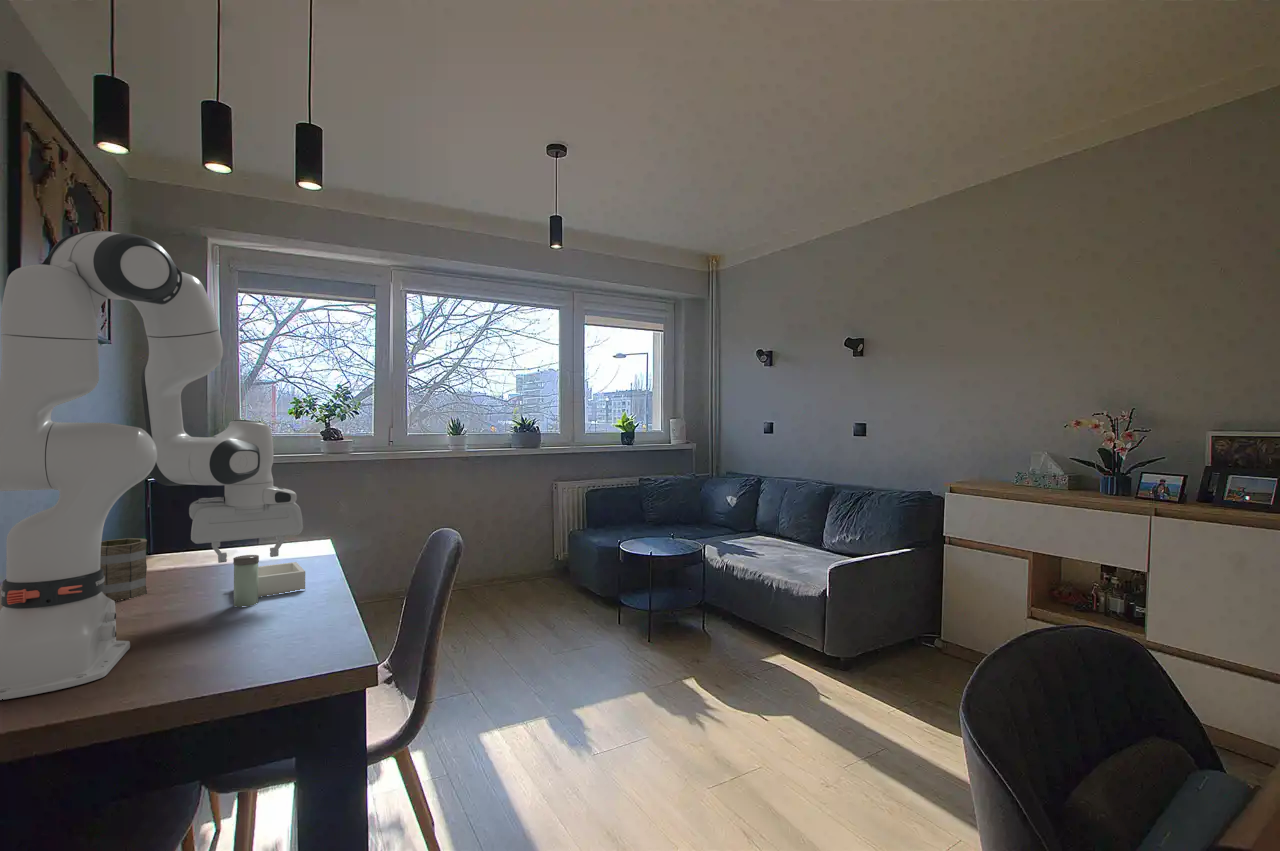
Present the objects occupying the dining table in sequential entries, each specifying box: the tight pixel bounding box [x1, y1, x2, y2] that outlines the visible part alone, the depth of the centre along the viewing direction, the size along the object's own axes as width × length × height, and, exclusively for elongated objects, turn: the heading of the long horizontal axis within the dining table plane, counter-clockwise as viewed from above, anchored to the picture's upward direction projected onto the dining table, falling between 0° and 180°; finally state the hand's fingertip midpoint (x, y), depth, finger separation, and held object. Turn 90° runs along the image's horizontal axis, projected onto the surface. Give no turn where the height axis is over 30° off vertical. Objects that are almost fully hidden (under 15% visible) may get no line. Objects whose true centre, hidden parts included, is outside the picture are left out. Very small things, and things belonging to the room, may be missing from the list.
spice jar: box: [232, 554, 260, 608], centre depth 130 cm, size 5×5×10 cm
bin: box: [258, 561, 306, 598], centre depth 142 cm, size 12×12×5 cm
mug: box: [100, 537, 148, 602], centre depth 137 cm, size 16×11×12 cm
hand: (248, 559), depth 130 cm, fingers open, 8 cm apart
